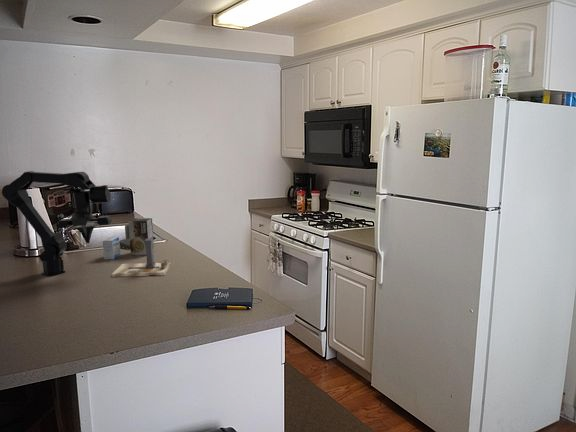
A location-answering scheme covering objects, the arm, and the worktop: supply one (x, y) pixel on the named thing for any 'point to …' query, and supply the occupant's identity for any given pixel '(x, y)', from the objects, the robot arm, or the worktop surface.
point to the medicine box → (111, 248)
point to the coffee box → (140, 234)
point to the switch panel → (141, 269)
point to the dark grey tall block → (149, 253)
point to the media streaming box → (125, 243)
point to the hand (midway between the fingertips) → (87, 243)
